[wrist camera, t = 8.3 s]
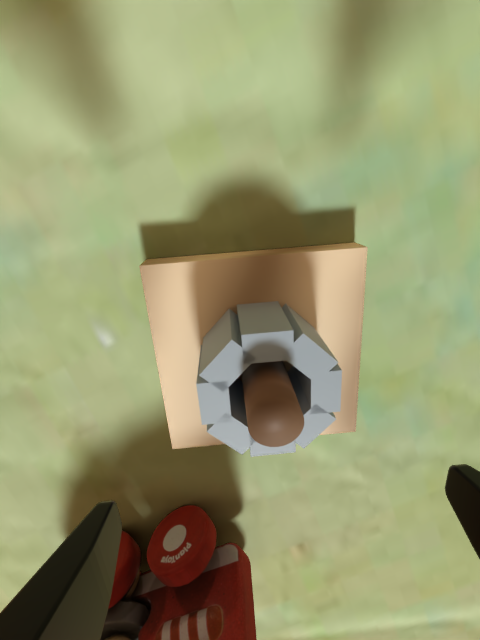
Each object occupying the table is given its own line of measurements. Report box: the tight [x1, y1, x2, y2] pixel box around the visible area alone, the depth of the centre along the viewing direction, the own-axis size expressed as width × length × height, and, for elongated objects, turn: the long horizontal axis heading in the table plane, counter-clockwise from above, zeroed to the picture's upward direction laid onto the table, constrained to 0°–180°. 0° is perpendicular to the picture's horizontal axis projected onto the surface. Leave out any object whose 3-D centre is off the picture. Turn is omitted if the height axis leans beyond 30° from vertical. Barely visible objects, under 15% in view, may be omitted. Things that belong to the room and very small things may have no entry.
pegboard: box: [140, 242, 367, 449], centre depth 15 cm, size 10×10×6 cm
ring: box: [196, 301, 342, 457], centre depth 15 cm, size 6×6×4 cm
